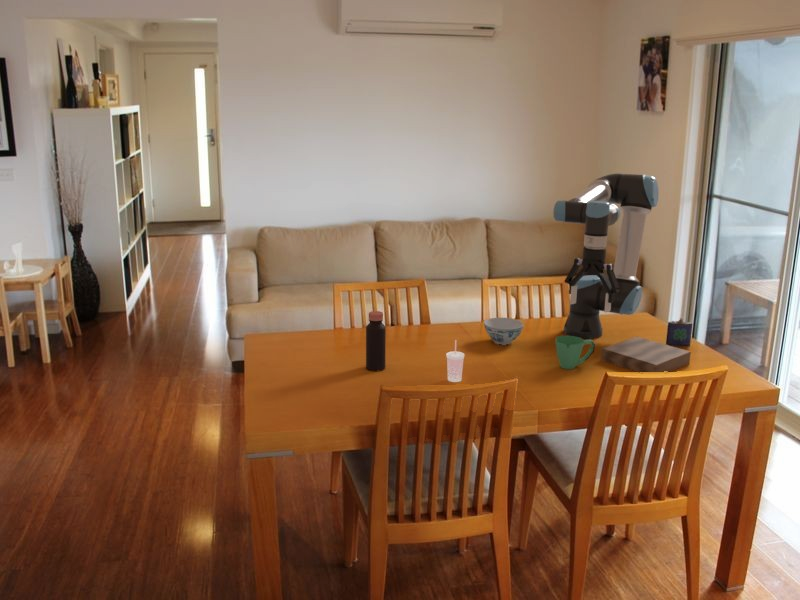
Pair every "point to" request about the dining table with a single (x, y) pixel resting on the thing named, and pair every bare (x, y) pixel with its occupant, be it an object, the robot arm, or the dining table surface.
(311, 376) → the dining table surface
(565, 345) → the mug
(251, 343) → the dining table surface
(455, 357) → the beverage cup
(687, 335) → the flask
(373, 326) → the bottle
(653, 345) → the walnut box
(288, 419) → the dining table surface
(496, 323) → the chinaware
